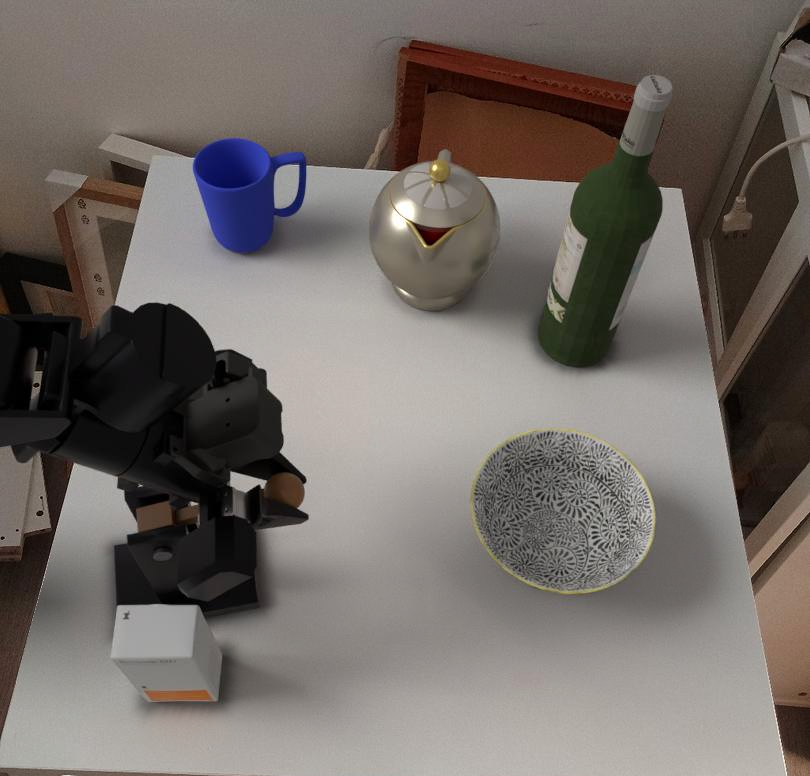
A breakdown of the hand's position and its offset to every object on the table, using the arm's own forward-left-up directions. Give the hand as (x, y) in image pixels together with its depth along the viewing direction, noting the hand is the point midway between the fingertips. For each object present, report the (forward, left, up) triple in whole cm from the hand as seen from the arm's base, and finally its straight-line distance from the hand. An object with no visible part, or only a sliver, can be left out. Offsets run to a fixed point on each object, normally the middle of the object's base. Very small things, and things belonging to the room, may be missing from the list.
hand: (304, 501), depth 66 cm
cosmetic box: (-12, -9, -11) cm, 19 cm away
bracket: (-11, 0, -11) cm, 16 cm away
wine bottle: (+32, +20, -11) cm, 39 cm away
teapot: (+19, +32, -11) cm, 39 cm away
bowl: (+22, -3, -11) cm, 24 cm away
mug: (+1, +42, -11) cm, 44 cm away
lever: (-6, 0, -1) cm, 6 cm away
